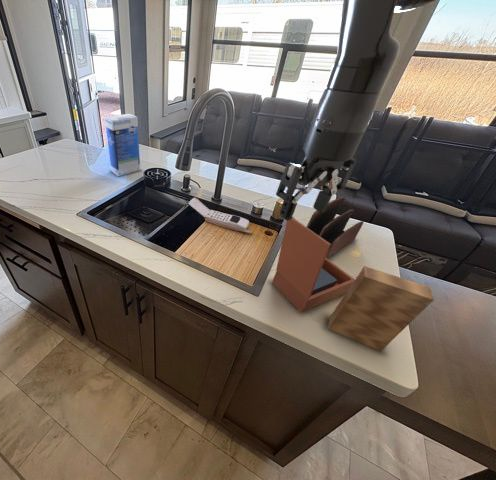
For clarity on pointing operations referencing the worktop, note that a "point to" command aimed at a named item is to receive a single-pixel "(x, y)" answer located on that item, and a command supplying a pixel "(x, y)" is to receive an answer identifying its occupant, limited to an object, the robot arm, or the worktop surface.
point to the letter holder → (334, 226)
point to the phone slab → (324, 282)
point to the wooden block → (378, 307)
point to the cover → (301, 256)
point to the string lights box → (123, 143)
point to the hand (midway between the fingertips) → (302, 213)
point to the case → (319, 298)
